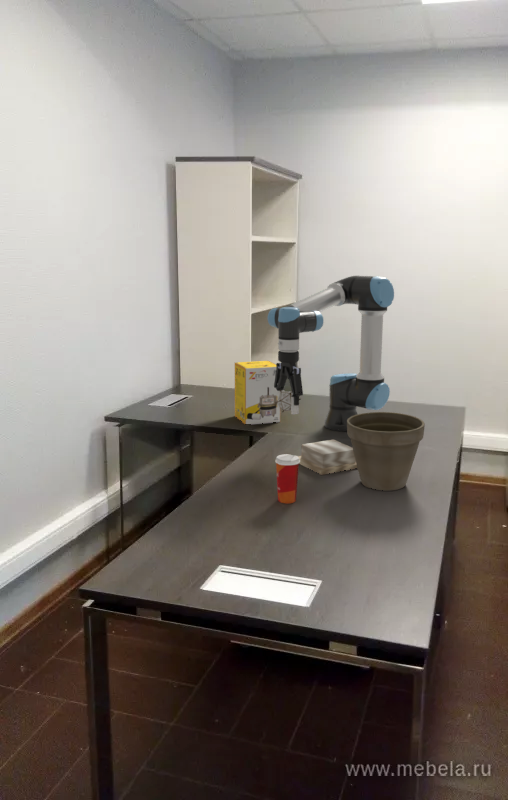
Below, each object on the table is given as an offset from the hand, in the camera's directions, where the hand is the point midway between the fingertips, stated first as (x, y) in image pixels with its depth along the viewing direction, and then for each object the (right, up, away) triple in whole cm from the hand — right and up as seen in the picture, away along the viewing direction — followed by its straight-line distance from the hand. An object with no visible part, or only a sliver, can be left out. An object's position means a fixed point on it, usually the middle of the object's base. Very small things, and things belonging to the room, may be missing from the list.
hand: (287, 410), depth 260 cm
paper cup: (-2, -27, -40) cm, 49 cm away
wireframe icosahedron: (0, 0, 0) cm, 1 cm away
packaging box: (-11, -5, +58) cm, 59 cm away
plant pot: (+30, -24, -25) cm, 46 cm away
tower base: (+14, -19, -5) cm, 24 cm away
